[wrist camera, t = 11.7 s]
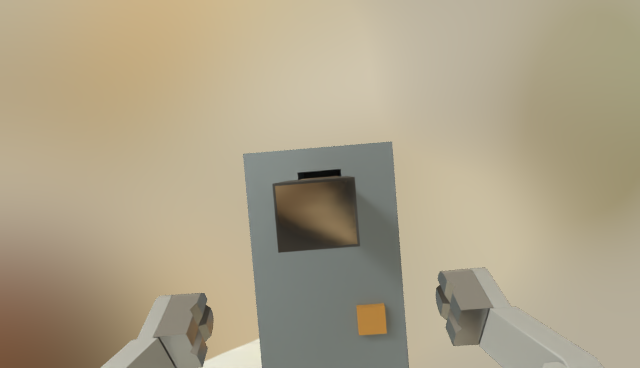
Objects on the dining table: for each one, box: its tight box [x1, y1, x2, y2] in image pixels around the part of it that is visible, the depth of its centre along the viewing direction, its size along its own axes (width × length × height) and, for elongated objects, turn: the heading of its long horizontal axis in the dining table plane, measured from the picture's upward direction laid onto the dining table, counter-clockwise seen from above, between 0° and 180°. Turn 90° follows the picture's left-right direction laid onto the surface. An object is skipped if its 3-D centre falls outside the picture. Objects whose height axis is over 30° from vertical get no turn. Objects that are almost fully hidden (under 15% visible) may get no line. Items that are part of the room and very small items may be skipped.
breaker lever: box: [272, 176, 360, 253], centre depth 21 cm, size 3×16×3 cm, turn 179°
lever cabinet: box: [243, 142, 409, 368], centre depth 34 cm, size 13×11×31 cm
